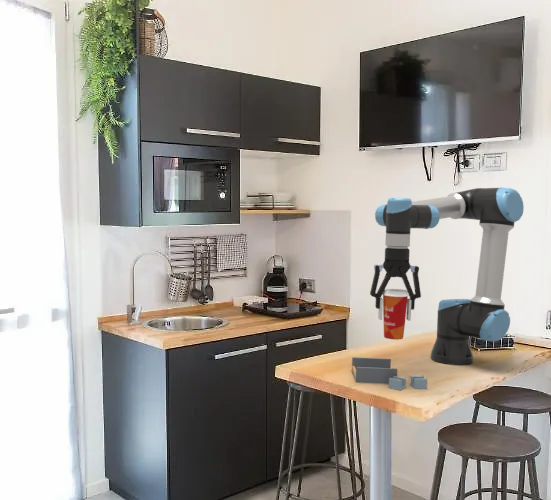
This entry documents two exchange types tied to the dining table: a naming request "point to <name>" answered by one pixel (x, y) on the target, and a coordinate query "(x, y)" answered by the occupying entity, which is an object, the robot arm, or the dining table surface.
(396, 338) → the coffee cup
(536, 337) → the dining table surface
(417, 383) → the clip
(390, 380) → the clip
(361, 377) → the end holder
